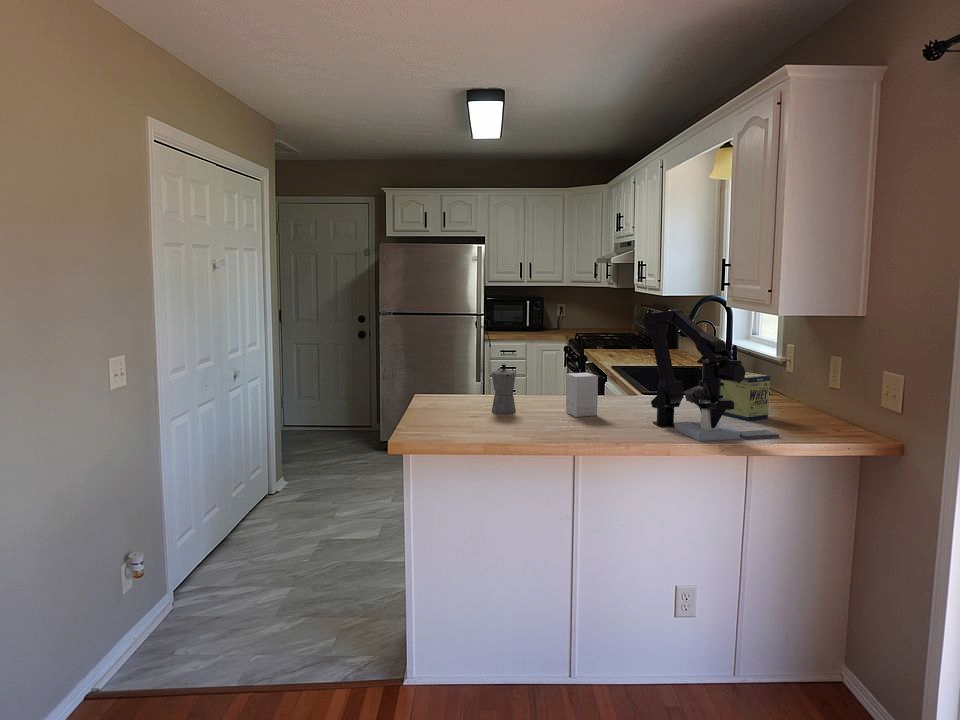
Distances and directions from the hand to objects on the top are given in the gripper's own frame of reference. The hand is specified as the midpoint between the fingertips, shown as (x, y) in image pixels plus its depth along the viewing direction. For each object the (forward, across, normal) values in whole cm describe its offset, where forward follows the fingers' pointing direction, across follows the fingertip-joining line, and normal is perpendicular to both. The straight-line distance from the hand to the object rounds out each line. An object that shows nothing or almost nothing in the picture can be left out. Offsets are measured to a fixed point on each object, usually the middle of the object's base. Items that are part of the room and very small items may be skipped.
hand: (709, 426), depth 222 cm
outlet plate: (+3, -2, 0) cm, 3 cm away
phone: (+3, +4, +14) cm, 15 cm away
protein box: (+3, -25, +27) cm, 37 cm away
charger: (+2, 0, 0) cm, 2 cm away
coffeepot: (+3, -52, -56) cm, 76 cm away
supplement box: (+3, -40, -29) cm, 49 cm away
